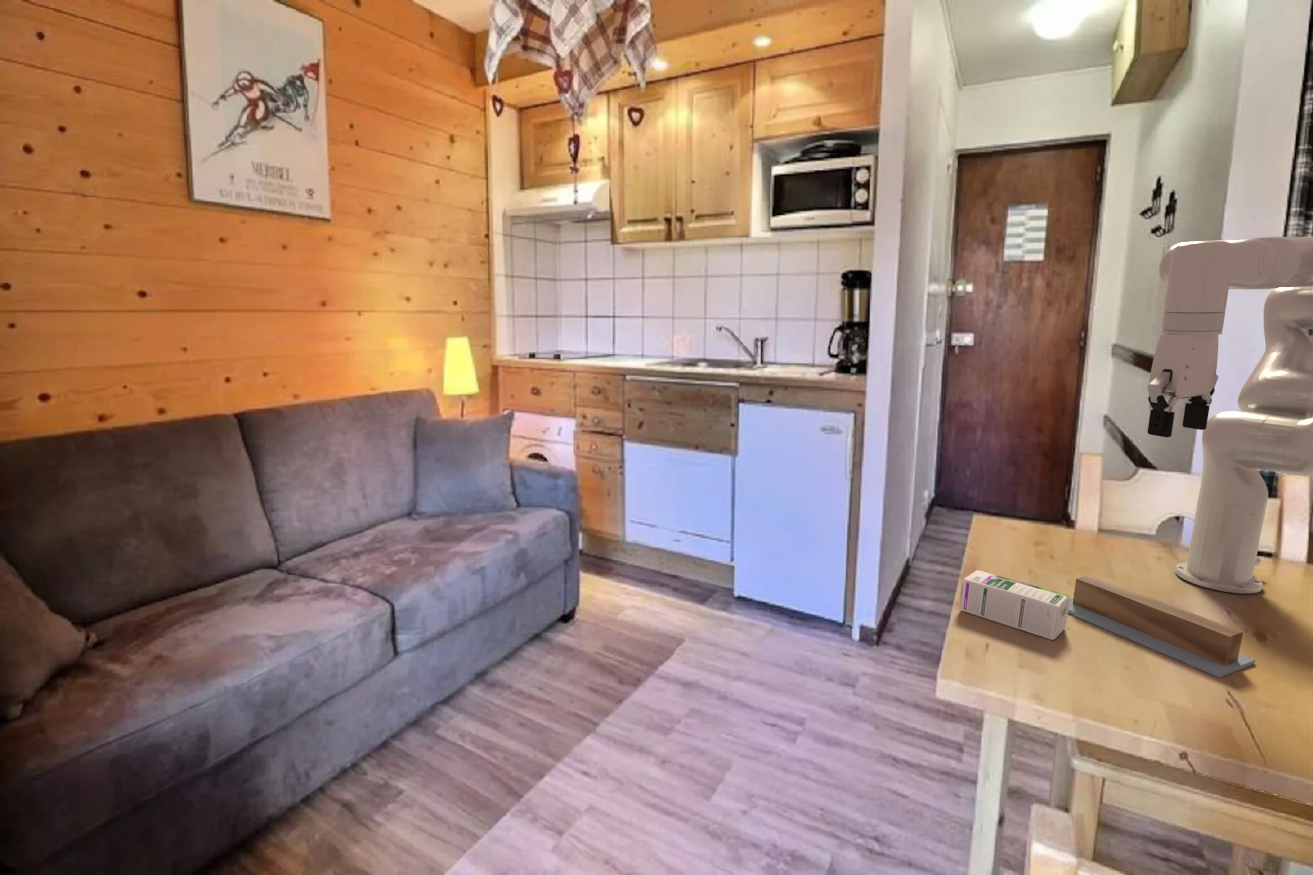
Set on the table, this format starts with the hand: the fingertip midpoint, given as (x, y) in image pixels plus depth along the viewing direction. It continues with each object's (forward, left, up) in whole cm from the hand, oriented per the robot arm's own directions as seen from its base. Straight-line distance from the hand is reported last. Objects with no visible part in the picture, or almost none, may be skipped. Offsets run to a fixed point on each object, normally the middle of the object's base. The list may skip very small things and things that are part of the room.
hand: (1176, 431), depth 110 cm
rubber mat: (+10, +6, -30) cm, 32 cm away
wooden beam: (+10, +6, -30) cm, 32 cm away
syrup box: (+23, +1, -27) cm, 36 cm away
